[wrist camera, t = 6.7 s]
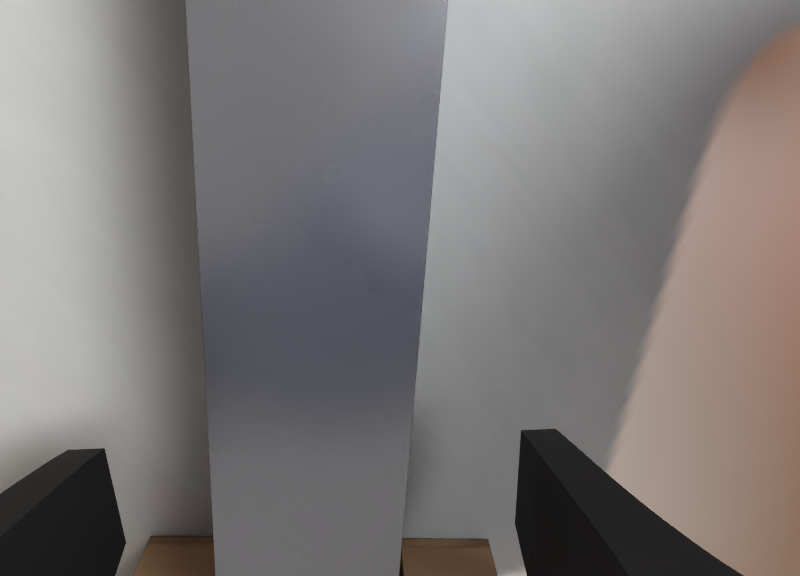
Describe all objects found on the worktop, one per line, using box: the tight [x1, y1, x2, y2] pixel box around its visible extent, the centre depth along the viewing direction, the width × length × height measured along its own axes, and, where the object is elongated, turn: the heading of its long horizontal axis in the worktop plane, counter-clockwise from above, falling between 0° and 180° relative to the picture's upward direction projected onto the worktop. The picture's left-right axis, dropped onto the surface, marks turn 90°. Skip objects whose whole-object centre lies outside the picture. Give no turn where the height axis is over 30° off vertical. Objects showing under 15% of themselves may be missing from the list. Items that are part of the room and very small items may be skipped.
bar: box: [185, 0, 448, 576], centre depth 11 cm, size 3×18×5 cm, turn 176°
